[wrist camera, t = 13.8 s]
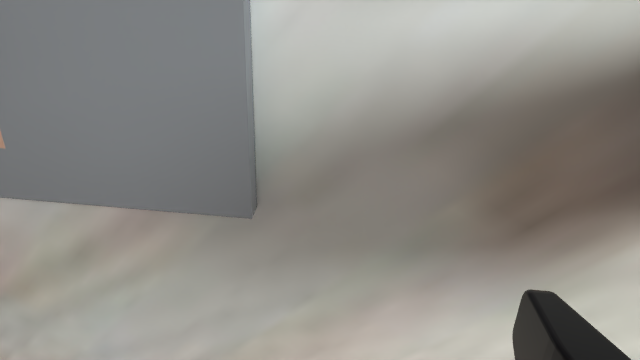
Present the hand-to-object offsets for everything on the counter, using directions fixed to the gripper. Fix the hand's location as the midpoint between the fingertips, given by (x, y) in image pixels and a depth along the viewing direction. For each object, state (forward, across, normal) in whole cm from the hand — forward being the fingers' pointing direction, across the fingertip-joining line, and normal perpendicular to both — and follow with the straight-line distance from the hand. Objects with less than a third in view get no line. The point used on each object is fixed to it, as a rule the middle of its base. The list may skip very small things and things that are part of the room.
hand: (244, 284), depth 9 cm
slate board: (+13, +12, +1) cm, 18 cm away
